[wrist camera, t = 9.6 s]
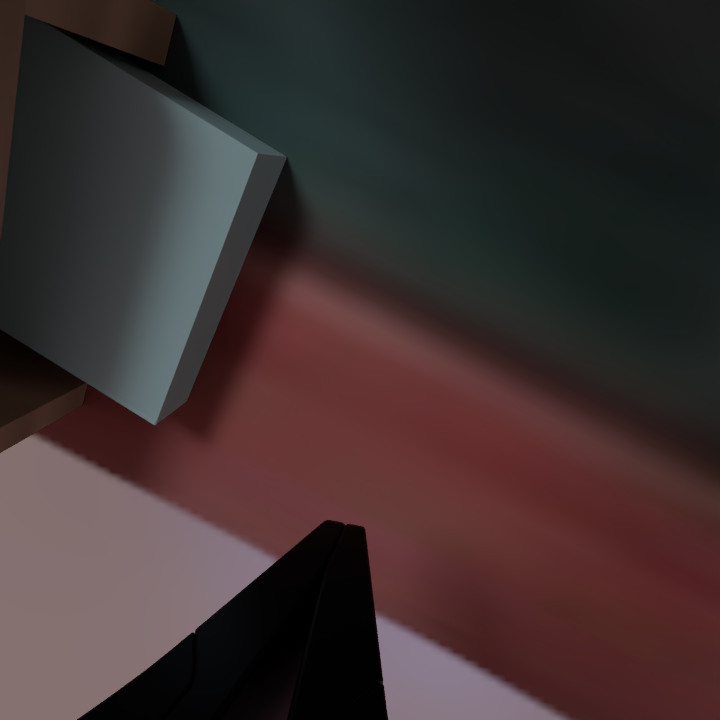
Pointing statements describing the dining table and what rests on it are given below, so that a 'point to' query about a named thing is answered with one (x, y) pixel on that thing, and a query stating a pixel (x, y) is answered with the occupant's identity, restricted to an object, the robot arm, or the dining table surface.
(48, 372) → the low shelf
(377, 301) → the dining table surface
